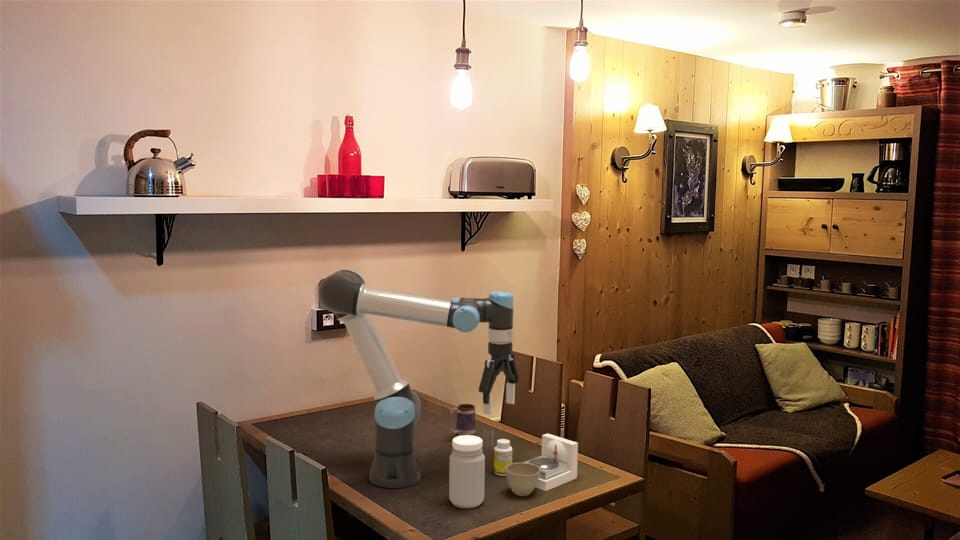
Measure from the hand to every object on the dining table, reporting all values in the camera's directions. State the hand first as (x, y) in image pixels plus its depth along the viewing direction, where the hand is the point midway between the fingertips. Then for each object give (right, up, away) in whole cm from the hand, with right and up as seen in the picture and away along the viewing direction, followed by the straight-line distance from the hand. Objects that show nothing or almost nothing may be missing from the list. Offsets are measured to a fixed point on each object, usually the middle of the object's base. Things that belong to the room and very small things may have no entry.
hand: (499, 408), depth 239 cm
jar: (-10, -22, -26) cm, 36 cm away
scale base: (+14, -20, -9) cm, 26 cm away
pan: (+13, -17, -10) cm, 23 cm away
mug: (-12, -16, +26) cm, 32 cm away
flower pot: (+6, -21, -19) cm, 29 cm away
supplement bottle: (+1, -19, -5) cm, 20 cm away
